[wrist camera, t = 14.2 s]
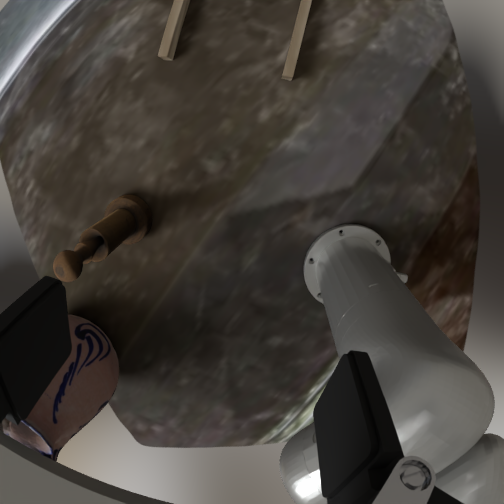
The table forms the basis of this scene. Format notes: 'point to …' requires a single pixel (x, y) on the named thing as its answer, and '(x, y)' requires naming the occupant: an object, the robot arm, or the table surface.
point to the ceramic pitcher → (71, 392)
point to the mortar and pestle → (106, 236)
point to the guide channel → (179, 15)
